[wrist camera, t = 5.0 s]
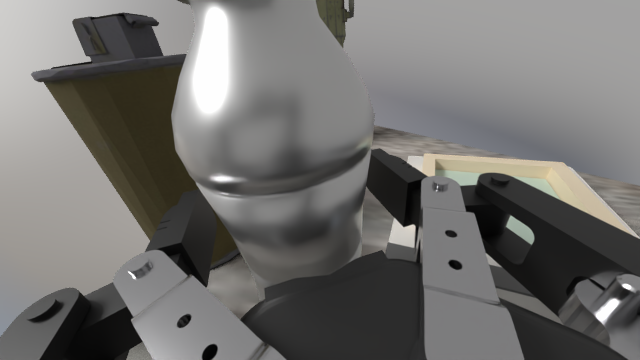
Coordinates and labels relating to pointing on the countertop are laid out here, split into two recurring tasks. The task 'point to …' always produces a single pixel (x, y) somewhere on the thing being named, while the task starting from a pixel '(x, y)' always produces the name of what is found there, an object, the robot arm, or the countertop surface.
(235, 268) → the countertop surface
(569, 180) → the dock
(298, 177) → the plastic bottle
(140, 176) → the canister
